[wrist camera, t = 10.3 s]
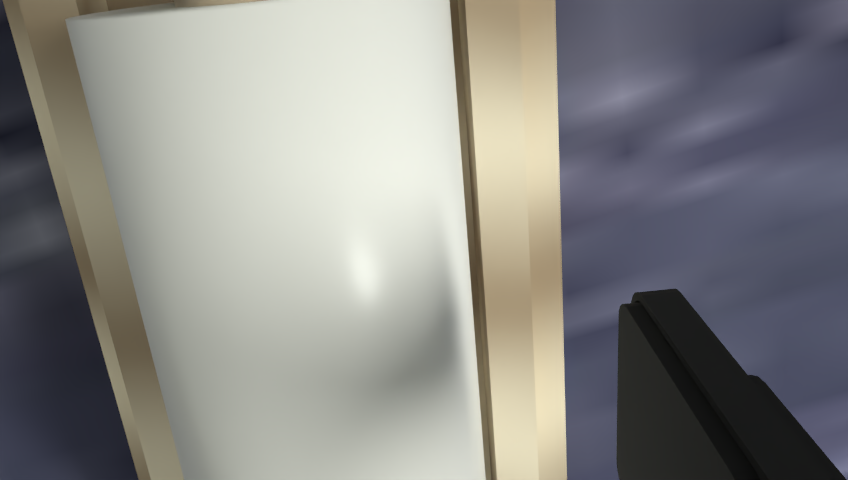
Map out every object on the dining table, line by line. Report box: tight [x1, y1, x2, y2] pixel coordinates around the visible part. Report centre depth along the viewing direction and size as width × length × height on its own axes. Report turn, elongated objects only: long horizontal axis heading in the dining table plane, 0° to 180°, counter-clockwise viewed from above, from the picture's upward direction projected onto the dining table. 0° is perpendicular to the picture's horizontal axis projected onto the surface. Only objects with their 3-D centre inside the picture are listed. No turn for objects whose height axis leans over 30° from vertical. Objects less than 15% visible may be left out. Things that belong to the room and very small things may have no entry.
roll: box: [65, 0, 486, 480], centre depth 14 cm, size 12×6×6 cm, turn 5°
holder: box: [3, 0, 567, 480], centre depth 15 cm, size 16×11×6 cm
